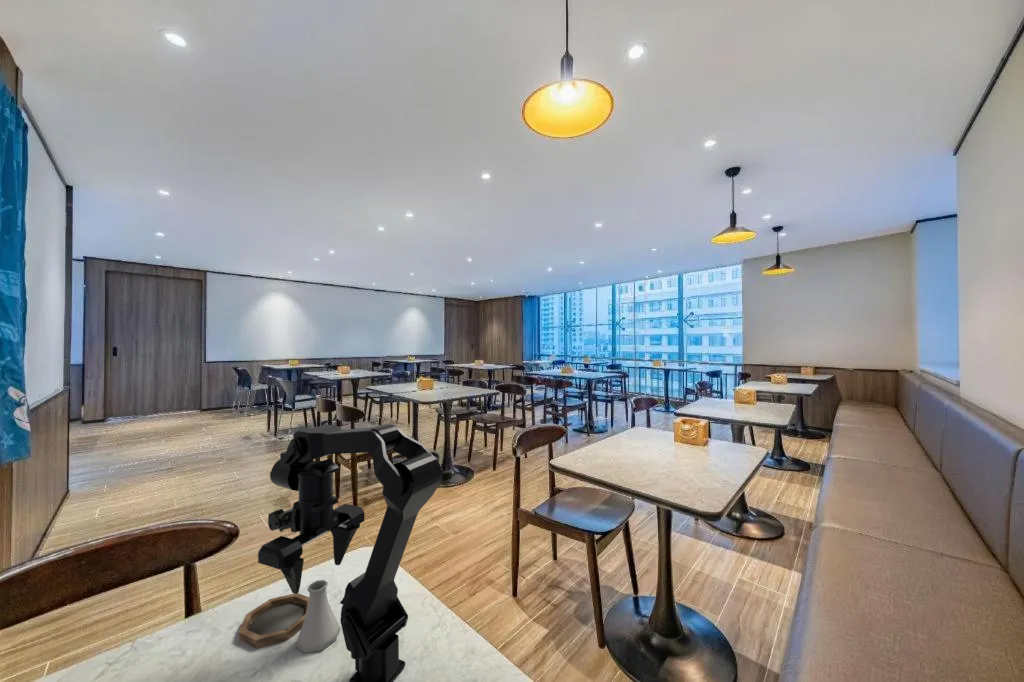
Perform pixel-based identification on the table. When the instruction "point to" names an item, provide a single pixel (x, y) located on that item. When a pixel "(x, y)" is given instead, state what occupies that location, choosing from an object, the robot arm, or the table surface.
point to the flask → (318, 621)
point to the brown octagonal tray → (274, 620)
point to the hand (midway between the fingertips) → (317, 578)
